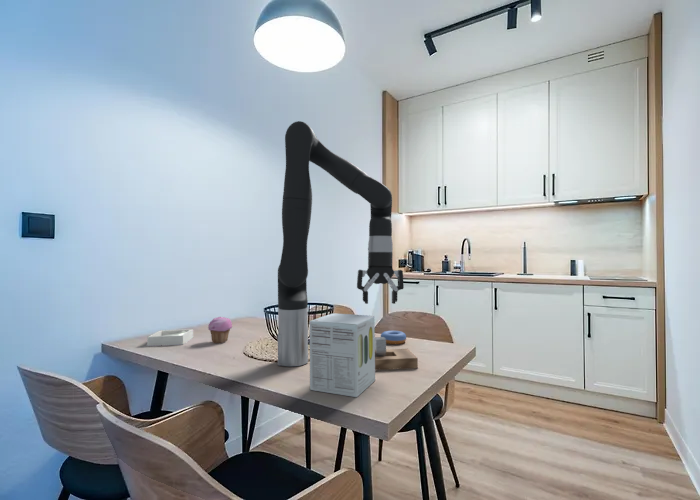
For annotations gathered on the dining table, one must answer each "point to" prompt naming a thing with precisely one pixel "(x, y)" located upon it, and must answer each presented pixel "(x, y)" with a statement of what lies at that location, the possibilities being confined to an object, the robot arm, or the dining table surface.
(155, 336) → the tray
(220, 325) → the cupcake
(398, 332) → the doughnut
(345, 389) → the supplement box
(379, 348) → the grey metal t-block
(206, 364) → the dining table surface
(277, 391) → the dining table surface
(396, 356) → the frame
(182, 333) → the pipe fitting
